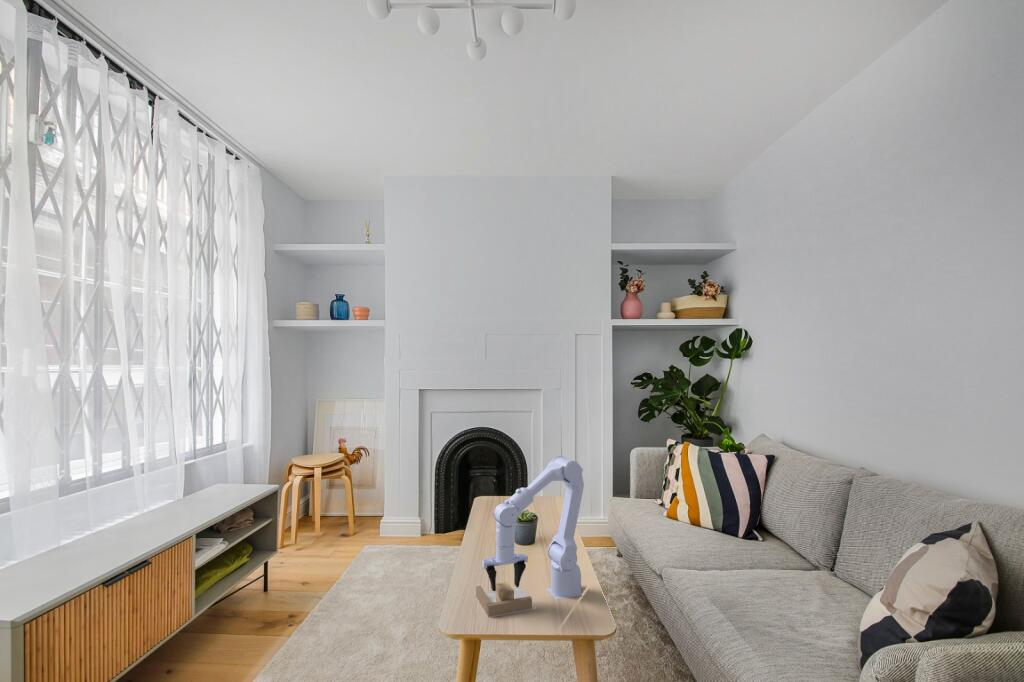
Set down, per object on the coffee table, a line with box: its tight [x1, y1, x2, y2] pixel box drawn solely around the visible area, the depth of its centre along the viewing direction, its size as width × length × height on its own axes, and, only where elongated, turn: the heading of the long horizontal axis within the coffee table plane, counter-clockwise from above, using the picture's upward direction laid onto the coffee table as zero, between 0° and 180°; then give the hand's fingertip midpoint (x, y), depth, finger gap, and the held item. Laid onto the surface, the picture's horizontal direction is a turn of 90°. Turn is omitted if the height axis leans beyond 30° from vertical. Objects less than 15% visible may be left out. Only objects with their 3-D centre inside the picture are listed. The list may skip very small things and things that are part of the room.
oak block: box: [495, 581, 514, 602], centre depth 154 cm, size 4×6×5 cm, turn 20°
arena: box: [475, 585, 538, 619], centre depth 155 cm, size 16×14×4 cm
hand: (505, 587), depth 154 cm, fingers open, 7 cm apart
